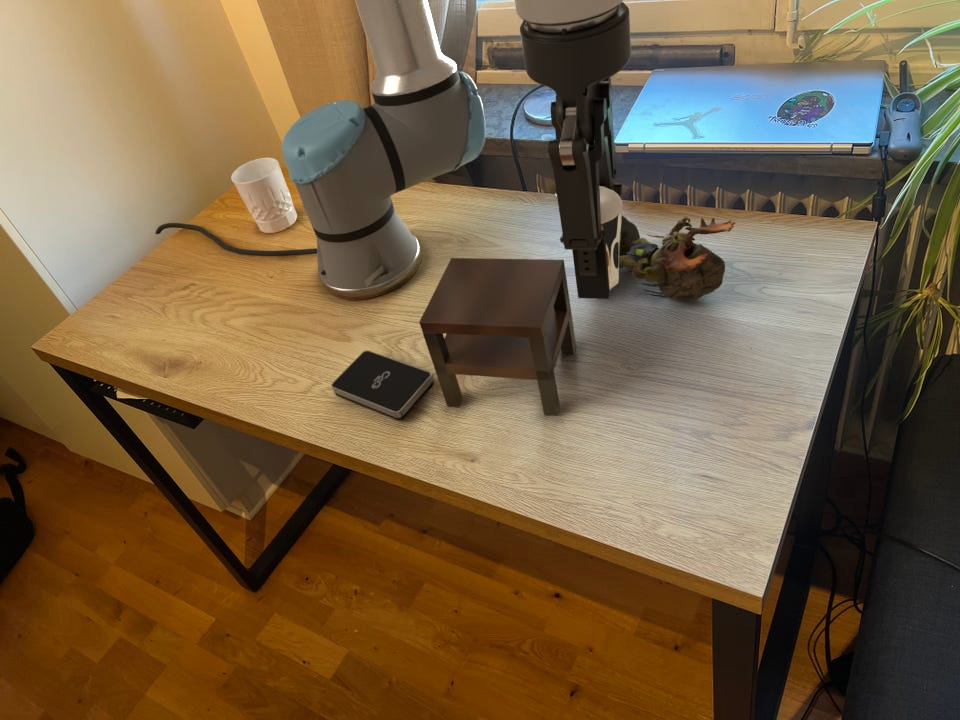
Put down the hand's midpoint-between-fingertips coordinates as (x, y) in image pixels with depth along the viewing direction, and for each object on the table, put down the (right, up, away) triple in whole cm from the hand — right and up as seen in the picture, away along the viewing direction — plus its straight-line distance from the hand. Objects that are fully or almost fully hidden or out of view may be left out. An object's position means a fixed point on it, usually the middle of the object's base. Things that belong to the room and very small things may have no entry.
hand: (598, 278), depth 65 cm
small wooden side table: (-7, -9, +19) cm, 22 cm away
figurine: (+11, +2, +26) cm, 28 cm away
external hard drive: (-22, -11, +21) cm, 33 cm away
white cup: (-45, +16, +57) cm, 74 cm away
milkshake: (0, 0, 0) cm, 0 cm away
